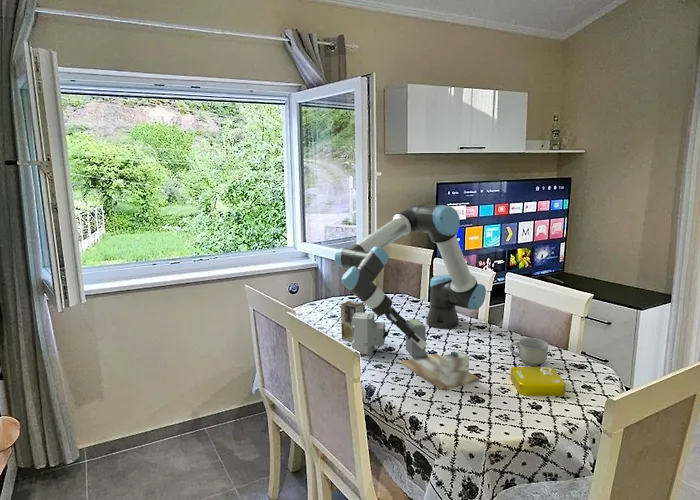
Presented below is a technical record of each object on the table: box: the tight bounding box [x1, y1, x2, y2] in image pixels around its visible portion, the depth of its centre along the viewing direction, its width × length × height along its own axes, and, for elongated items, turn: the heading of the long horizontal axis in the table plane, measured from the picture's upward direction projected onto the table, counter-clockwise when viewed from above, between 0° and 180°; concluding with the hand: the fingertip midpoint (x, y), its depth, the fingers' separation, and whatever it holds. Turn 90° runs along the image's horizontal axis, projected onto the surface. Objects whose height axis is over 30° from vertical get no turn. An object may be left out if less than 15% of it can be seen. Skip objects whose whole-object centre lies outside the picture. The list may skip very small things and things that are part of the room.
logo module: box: [405, 318, 427, 358], centre depth 186 cm, size 5×8×12 cm, turn 11°
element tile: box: [509, 366, 566, 397], centre depth 174 cm, size 15×15×5 cm
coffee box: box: [339, 300, 366, 343], centre depth 222 cm, size 9×6×16 cm
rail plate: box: [400, 350, 480, 391], centre depth 186 cm, size 16×26×11 cm, turn 26°
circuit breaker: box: [351, 312, 390, 355], centre depth 208 cm, size 8×14×15 cm, turn 78°
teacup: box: [508, 337, 549, 366], centre depth 194 cm, size 14×11×8 cm
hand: (421, 341), depth 187 cm, fingers closed on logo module, 8 cm apart
